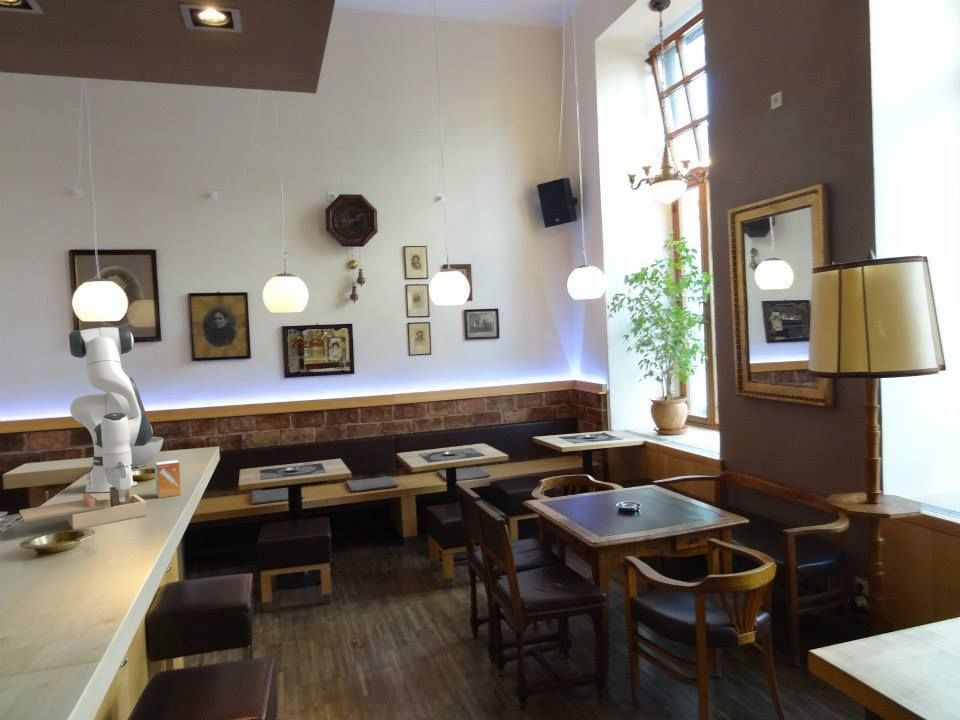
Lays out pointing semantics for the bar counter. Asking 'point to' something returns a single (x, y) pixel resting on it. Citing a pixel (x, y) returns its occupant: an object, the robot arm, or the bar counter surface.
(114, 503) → the walnut block
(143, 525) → the bar counter surface
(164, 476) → the small box
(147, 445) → the decorative bowl
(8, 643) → the bar counter surface
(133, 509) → the open wooden box
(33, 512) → the lid
